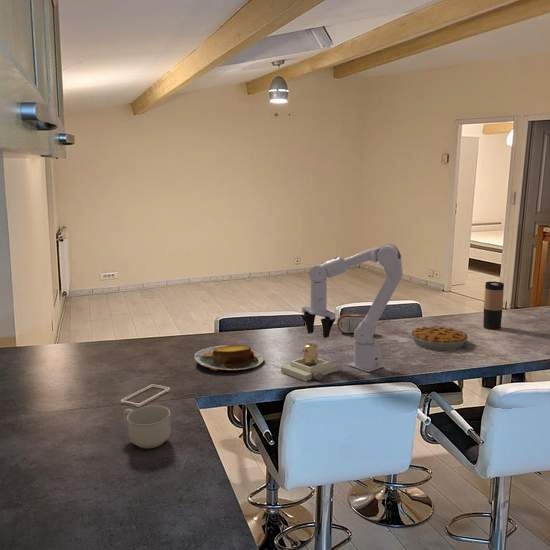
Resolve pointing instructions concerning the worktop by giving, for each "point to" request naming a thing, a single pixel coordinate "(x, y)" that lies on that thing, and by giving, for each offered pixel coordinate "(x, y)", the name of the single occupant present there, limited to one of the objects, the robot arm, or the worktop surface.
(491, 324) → the travel mug
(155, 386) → the phone case
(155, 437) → the teacup
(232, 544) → the worktop surface
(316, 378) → the cream peg hole base
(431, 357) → the worktop surface
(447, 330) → the pie
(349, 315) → the tin
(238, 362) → the food on plate
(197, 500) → the worktop surface
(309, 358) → the spout can
